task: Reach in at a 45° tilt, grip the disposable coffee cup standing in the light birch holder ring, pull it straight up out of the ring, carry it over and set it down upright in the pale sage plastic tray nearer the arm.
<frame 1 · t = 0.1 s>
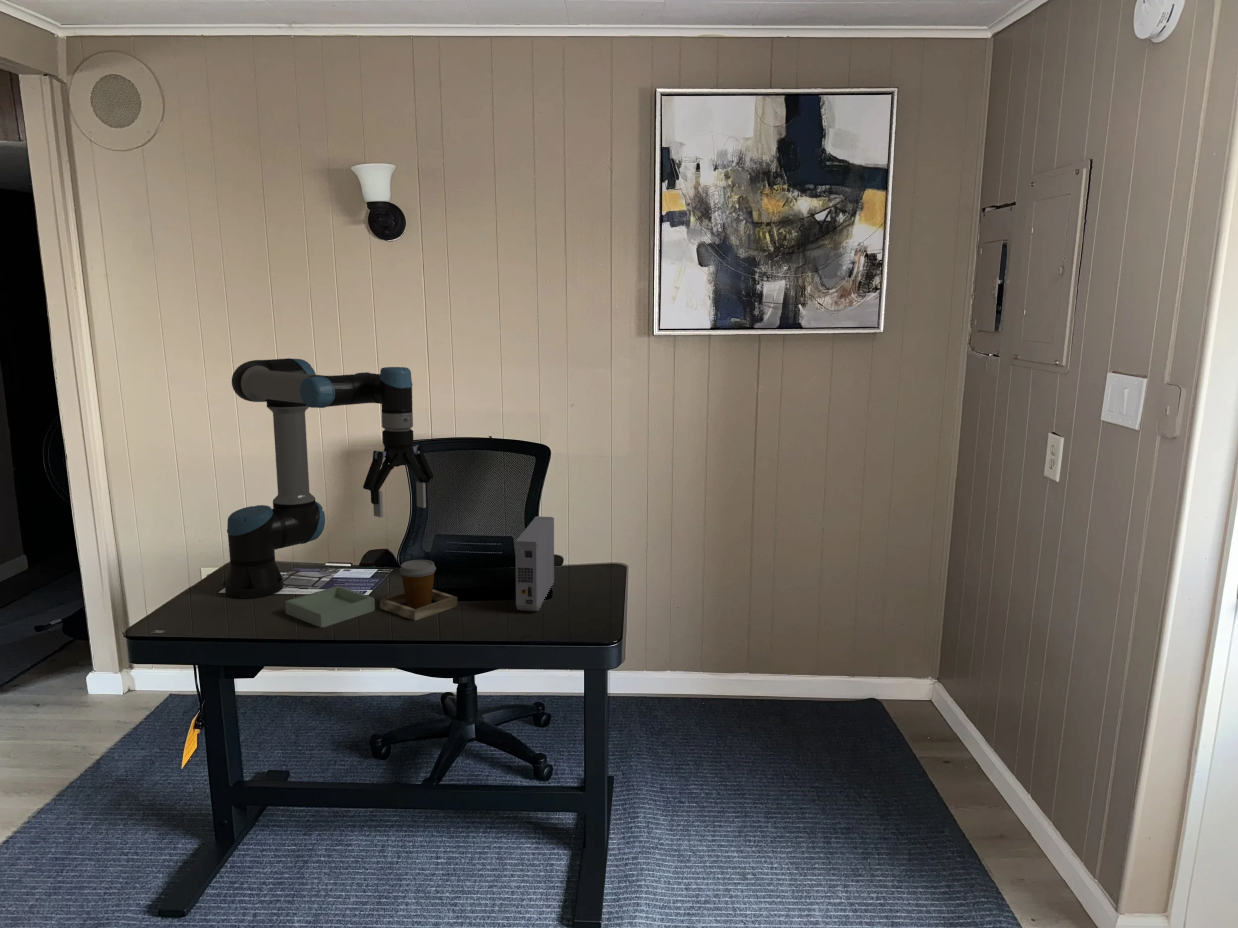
hand: (400, 511, 212), 28 cm above the table, tool pointing down, fingers open, 13 cm apart
tray: (330, 612, 219), on the table
game console: (536, 597, 233), on the table
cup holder: (419, 607, 224), on the table
disposable coffee cup: (419, 607, 224), resting in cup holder
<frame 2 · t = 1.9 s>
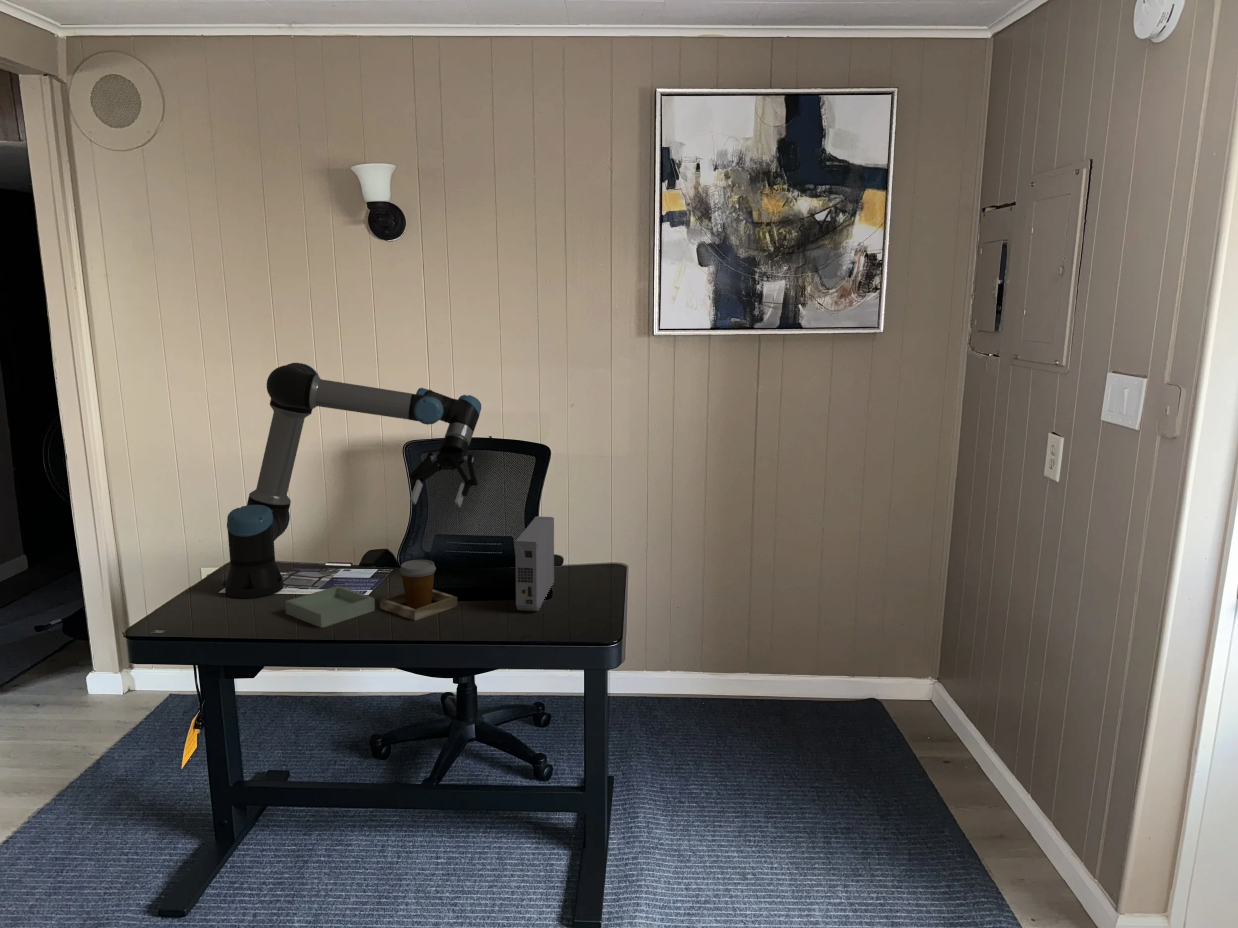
hand: (434, 503, 232), 26 cm above the table, tool tilted 45°, fingers open, 13 cm apart
nothing on the table moved.
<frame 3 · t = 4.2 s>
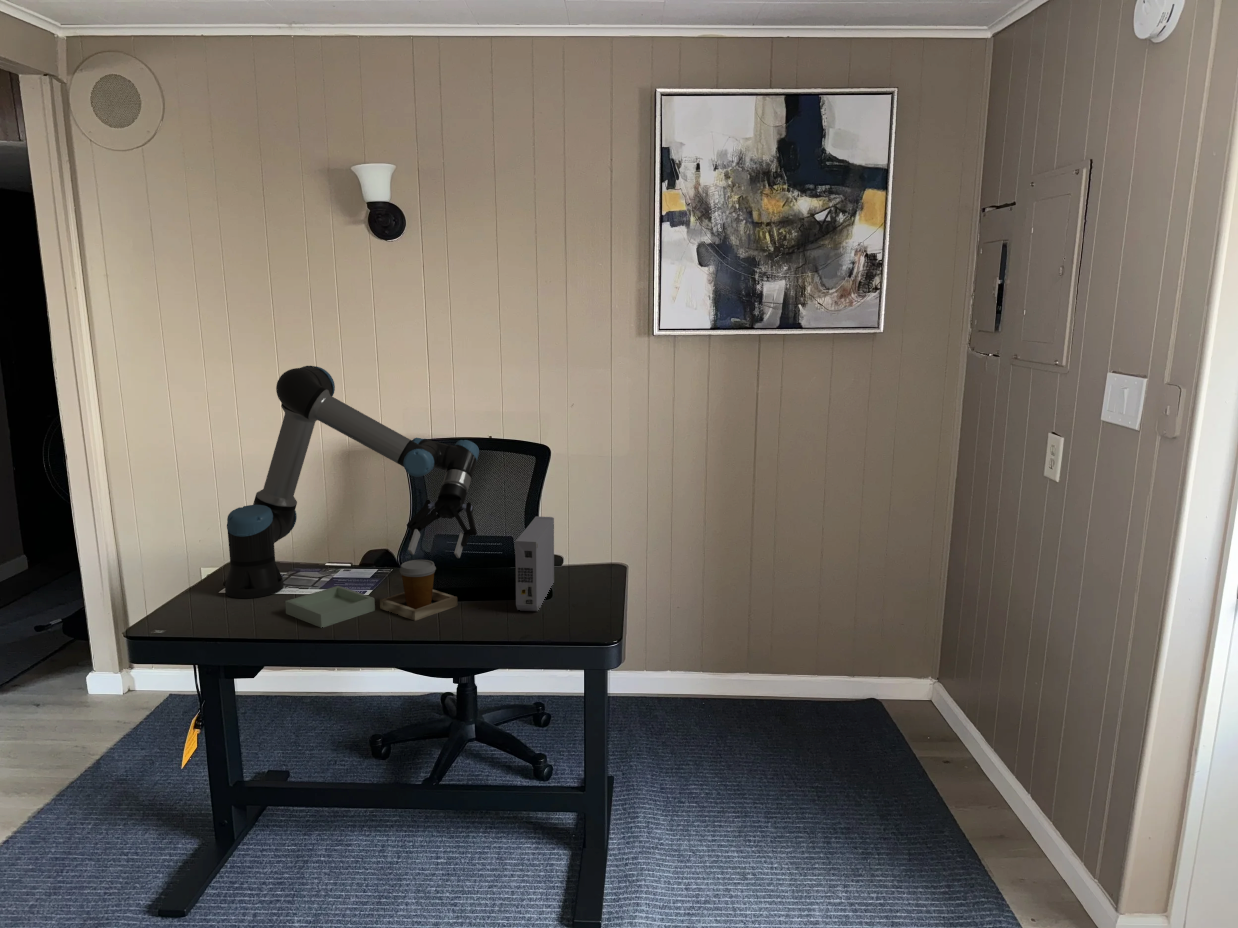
hand: (433, 554, 227), 13 cm above the table, tool tilted 45°, fingers open, 13 cm apart
nothing on the table moved.
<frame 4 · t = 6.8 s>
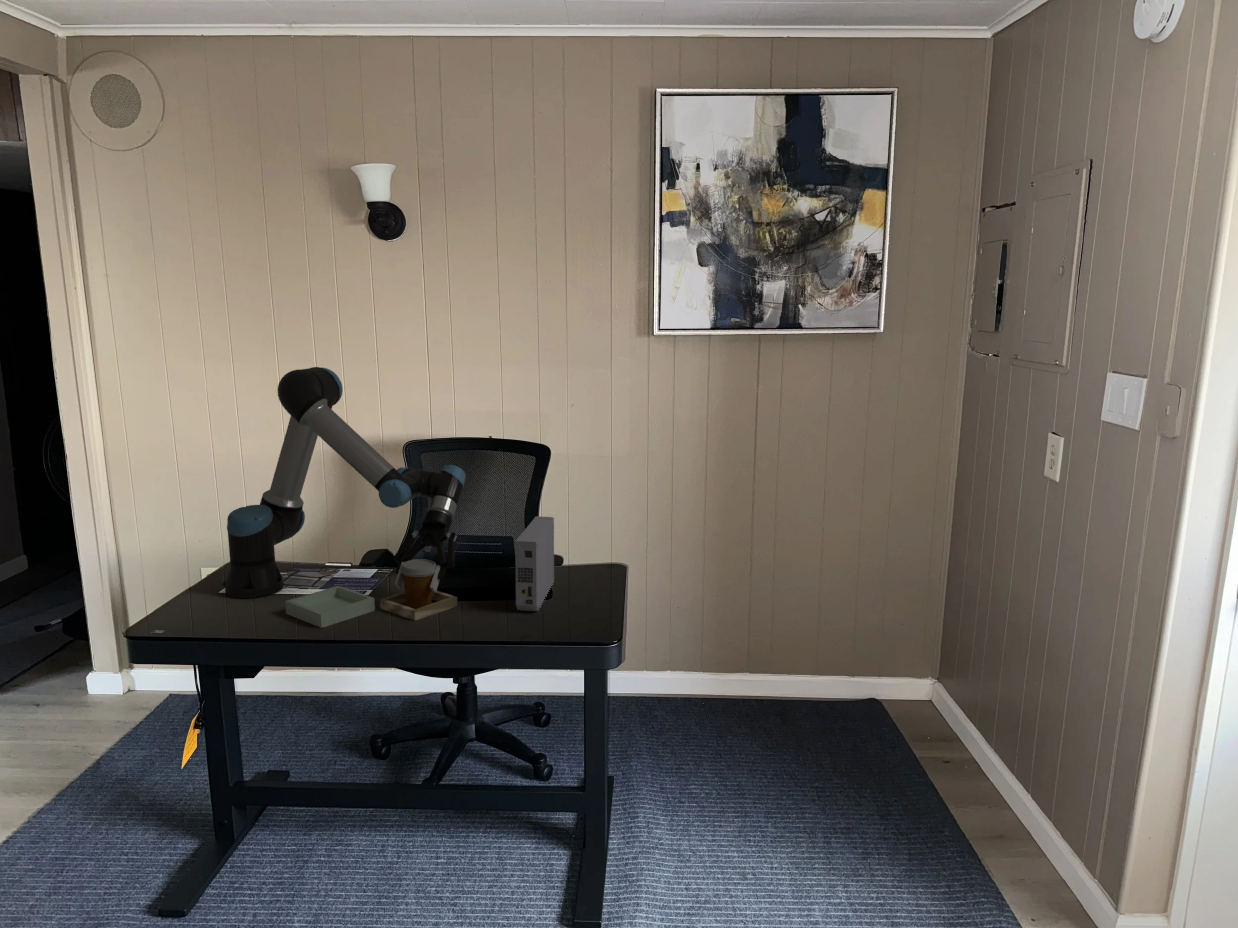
hand: (415, 587, 220), 6 cm above the table, tool tilted 45°, fingers closed on disposable coffee cup, 9 cm apart
disposable coffee cup: (419, 607, 224), resting in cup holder, touching gripper
everything else where it was.
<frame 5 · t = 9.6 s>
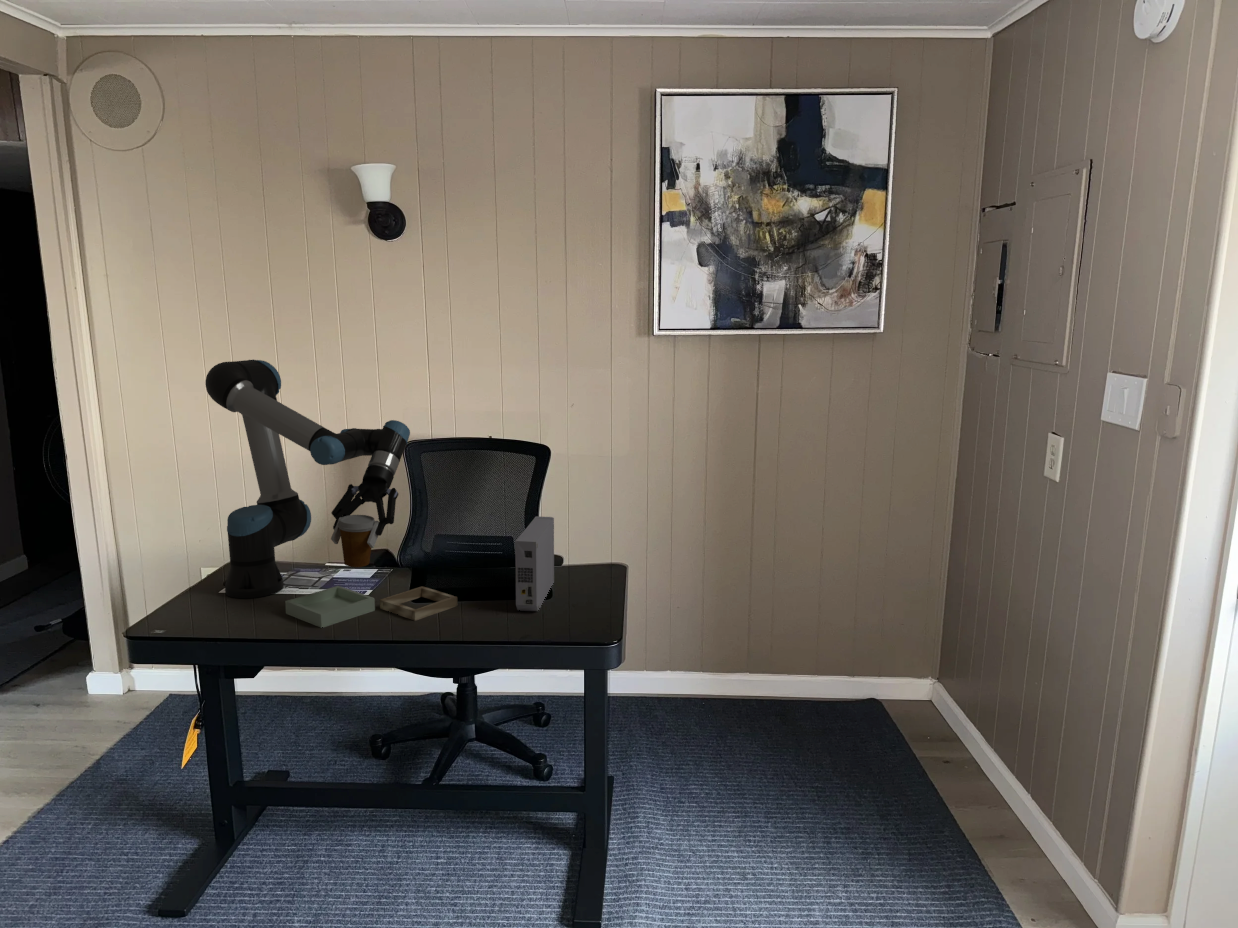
hand: (352, 543, 214), 19 cm above the table, tool tilted 45°, fingers closed on disposable coffee cup, 9 cm apart
disposable coffee cup: (356, 563, 218), point 13 cm above the table, touching gripper
everything else where it was.
when the fingers open (9 cm above the table, at t = 12.6 s): disposable coffee cup drops 2 cm, resting on tray.
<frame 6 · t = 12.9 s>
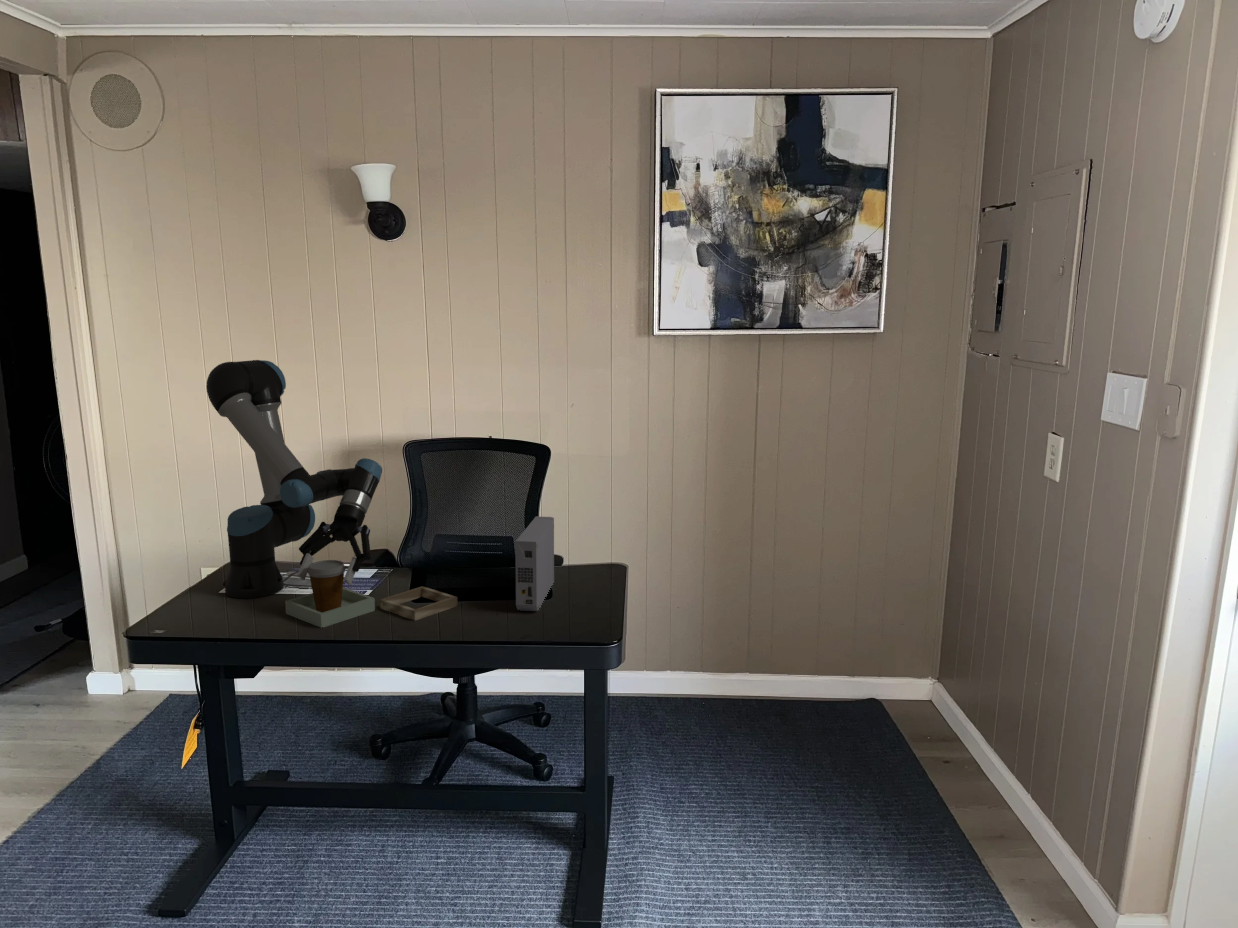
hand: (323, 579, 215), 10 cm above the table, tool tilted 45°, fingers open, 13 cm apart
disposable coffee cup: (328, 609, 219), point 1 cm above the table, touching tray
everything else where it was.
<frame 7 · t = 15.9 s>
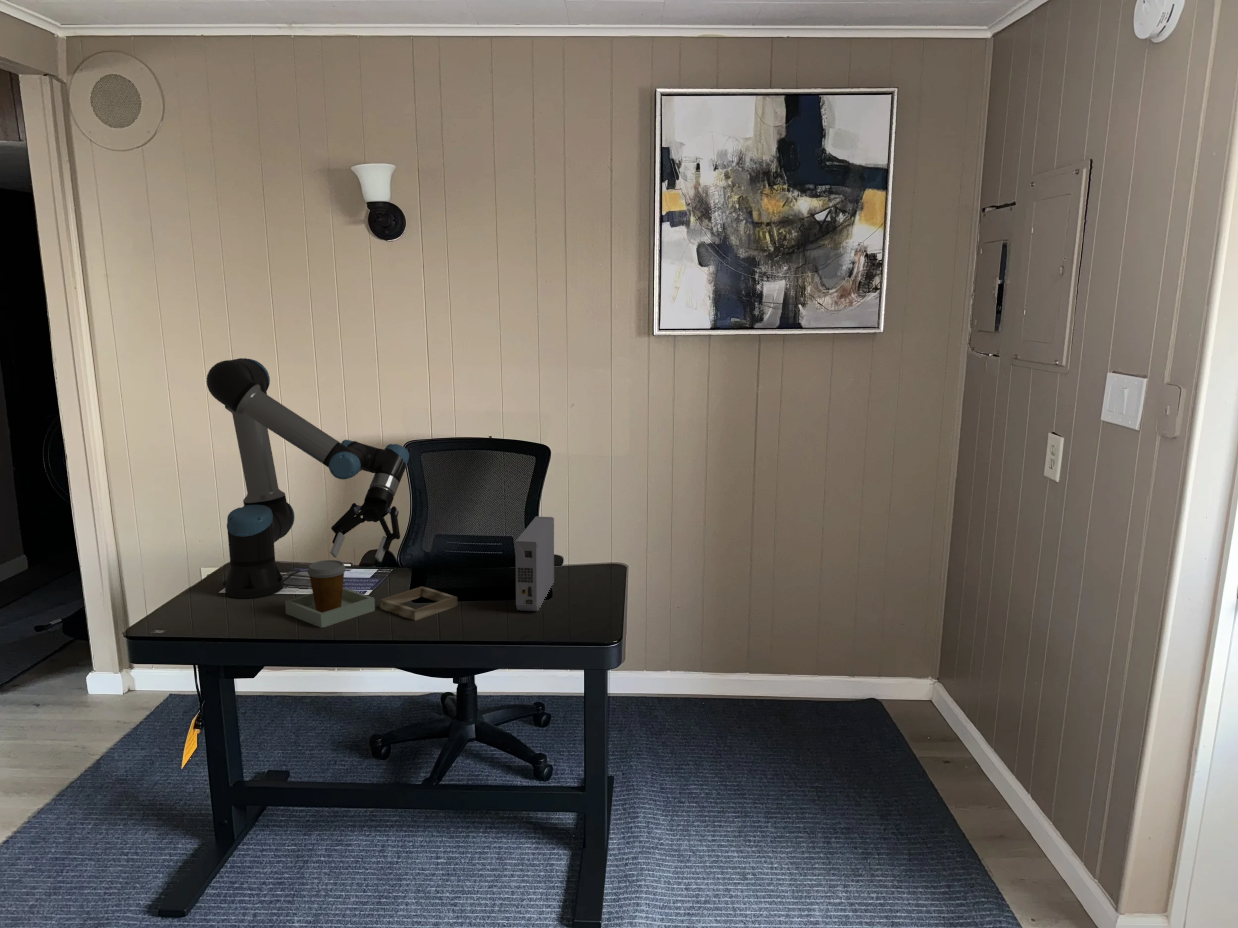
hand: (355, 557, 228), 12 cm above the table, tool tilted 45°, fingers open, 13 cm apart
nothing on the table moved.
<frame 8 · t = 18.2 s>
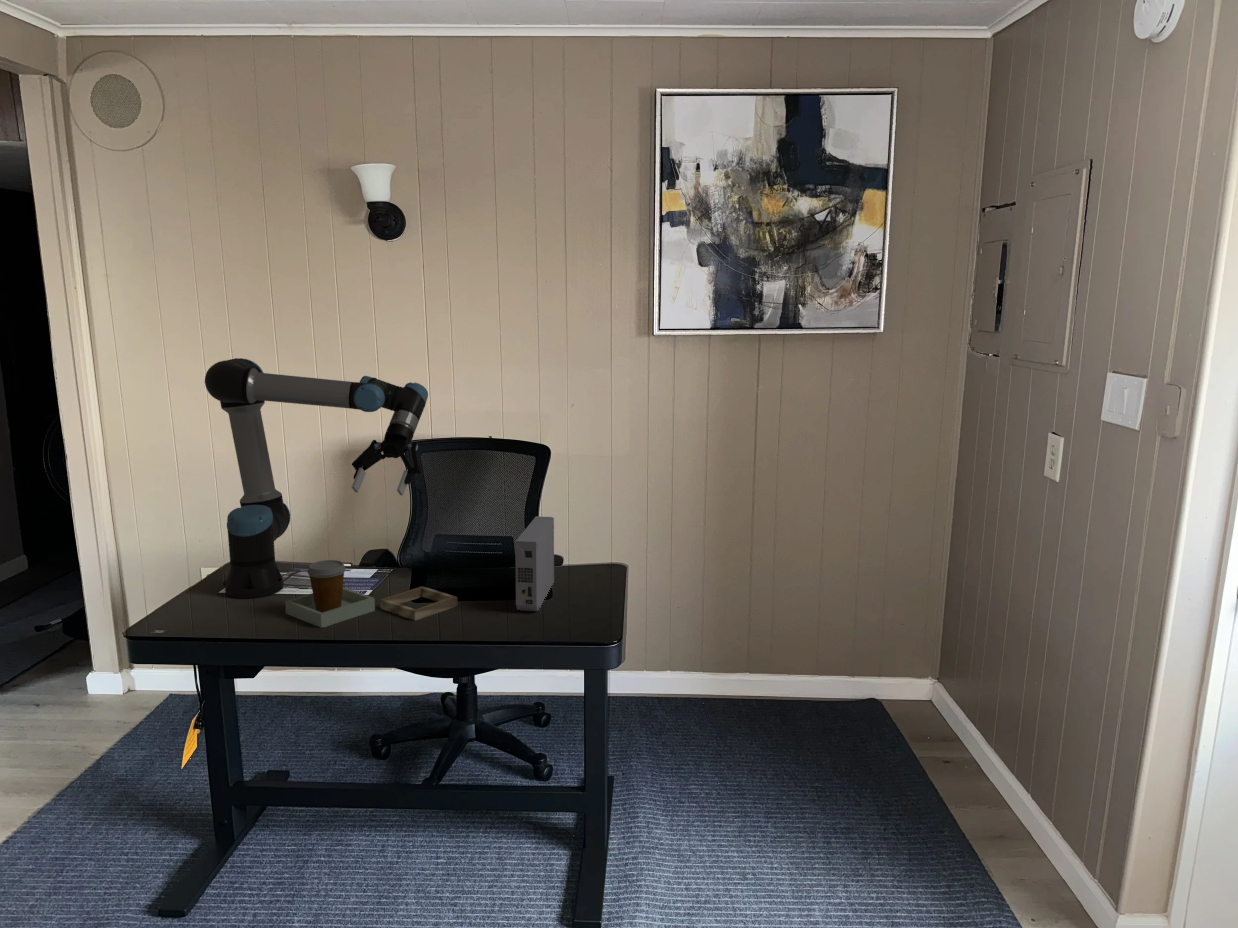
hand: (377, 491, 228), 30 cm above the table, tool tilted 45°, fingers open, 13 cm apart
nothing on the table moved.
at the end: disposable coffee cup inside the target area on the tray (0.5 cm from its centre), point 0.8 cm above the tray's base; disposable coffee cup tilted 0°; the gripper is holding nothing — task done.
